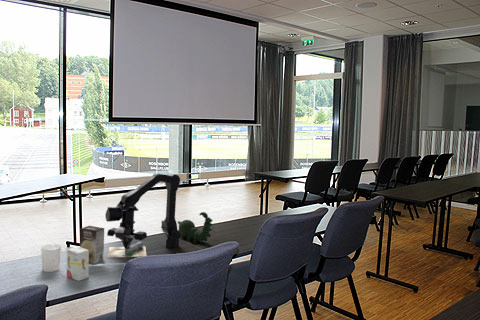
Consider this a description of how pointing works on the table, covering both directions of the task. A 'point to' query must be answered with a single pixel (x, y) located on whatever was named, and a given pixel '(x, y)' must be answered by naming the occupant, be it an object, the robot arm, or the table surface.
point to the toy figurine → (195, 229)
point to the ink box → (77, 263)
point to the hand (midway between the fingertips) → (126, 250)
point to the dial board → (121, 252)
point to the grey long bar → (134, 248)
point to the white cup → (51, 257)
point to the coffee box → (93, 243)
